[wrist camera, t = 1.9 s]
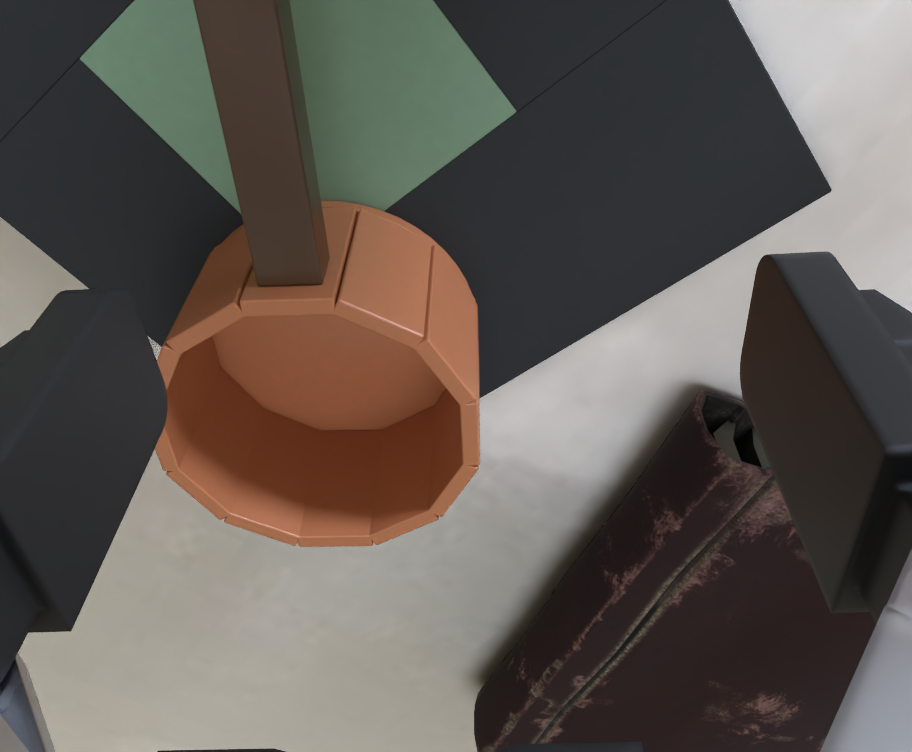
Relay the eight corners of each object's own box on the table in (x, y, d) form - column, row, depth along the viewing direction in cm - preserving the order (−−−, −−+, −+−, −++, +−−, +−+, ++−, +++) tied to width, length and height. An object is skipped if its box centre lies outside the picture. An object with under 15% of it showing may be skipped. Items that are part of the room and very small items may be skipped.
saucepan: (481, 428, 35) (482, 544, 30) (231, 433, 36) (191, 548, 31) (464, -141, 22) (462, -105, 17) (73, -122, 23) (-44, -82, 18)
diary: (469, 682, 48) (468, 766, 44) (685, 377, 34) (713, 461, 30) (738, 743, 52) (760, 825, 48) (1037, 492, 38) (1103, 580, 34)
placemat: (-305, -39, 25) (-315, -37, 24) (226, -916, 15) (221, -930, 15) (334, 479, 38) (332, 485, 38) (828, 186, 28) (832, 191, 28)
